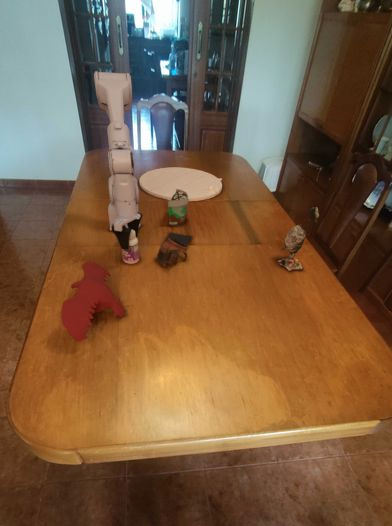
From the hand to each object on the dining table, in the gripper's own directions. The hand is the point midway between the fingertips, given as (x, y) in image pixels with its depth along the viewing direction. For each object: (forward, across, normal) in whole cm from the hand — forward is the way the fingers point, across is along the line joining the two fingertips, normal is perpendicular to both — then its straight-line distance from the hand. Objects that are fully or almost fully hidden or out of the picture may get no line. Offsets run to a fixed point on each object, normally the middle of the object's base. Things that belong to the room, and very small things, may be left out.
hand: (129, 242), depth 99 cm
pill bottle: (+6, 0, 0) cm, 6 cm away
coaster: (+6, +18, -11) cm, 22 cm away
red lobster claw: (+6, -27, -2) cm, 28 cm away
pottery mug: (+6, +3, -13) cm, 15 cm away
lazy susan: (+6, +70, +1) cm, 70 cm away
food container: (+6, +32, -8) cm, 34 cm away
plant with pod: (+6, +15, -51) cm, 54 cm away
